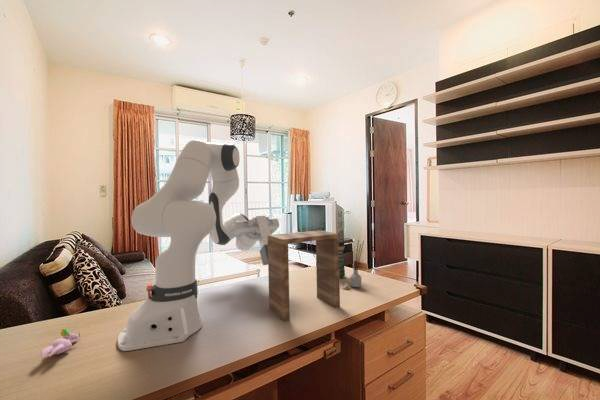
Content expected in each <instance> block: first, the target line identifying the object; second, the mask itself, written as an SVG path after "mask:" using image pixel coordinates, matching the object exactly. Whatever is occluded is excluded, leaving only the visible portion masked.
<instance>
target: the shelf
mask: <svg viewBox="0 0 600 400" xmlns="http://www.w3.org/2000/svg"><path fill="white" fill-rule="evenodd" d="M339 238H340V236H339V233H337V232H332V231H325V230H319V229H318V230H309V231H301V232H300V231H296V232H288V233H276V234H275V233H274V234H272V235H268V265H267V266H268V267H267V268H268V306H269V307H268V308H269V310H270V311H272V312H273V313H274V314H275V315H276V316H277V317H279V318H280V319H281V320H282V321H283V322H286V321H289V320H291V317H290V315H291V314H290V312H291V311H290V275H289V273H290V268H289V267H290V266H289V261H290V260H289V244H297V243H305V242H306V243H307V242H315V259H316V264H315V265H316V266H315V267H316V298H318V299H319V300H321V301H323V302H324V303H326V304H328V305H329V306H332V307H333V308H335V309H336V308H340V306H341V300H340V299H341V296H340V295H341V293H340V291H341V290H340V289H341V287H340V278H339Z"/></svg>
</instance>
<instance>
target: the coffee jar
mask: <svg viewBox="0 0 600 400" xmlns="http://www.w3.org/2000/svg"><path fill="white" fill-rule="evenodd" d="M344 240H345V239H342V238H340V237H339V279H342V278H344V277H345V276H346V270H345V261H344V251H345V247H346V246H345V241H344Z"/></svg>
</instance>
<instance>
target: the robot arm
mask: <svg viewBox="0 0 600 400" xmlns="http://www.w3.org/2000/svg"><path fill="white" fill-rule="evenodd" d="M239 163H240V151H239V149H238V147H237V146H236V145H235V144H234V143H229V142H225V143H223V142H222V143H220V142H209V141H208V142H206V141H204V140H202V139H192V140H189V141H188V142H187V143H186V144H185V146H184V147H183V148H182V150H181V151H180V154H179V155H178V157H177V159H176V161H175V164H174V167H173V168H172V170H171V173H170V175H169V176H168V179H167V180H166V182H165V183H164V184H163V185H162V187H161V188H160V189H159V190H158V191H156V193H155V194H153V195H152V197H150V198H149V199H147V200H146V201H144V202H142V203H139V204H138V205H137V206H136V207H135V208H134V209H133V211H132V214H131V217H130V218H131V226H132V228H133V230H134V231H135V232H136V233H138V234H140V235H144V236H148V237H151V238H152V237H154V238H170V243H169V247H168V248H166V249H165V250H164V251H162V252H161V253H159V254H158V256H157V257H156V258H155V261H154V265H155V284H154V285H153V283H150V284H147V286H146V287H145V289H146V292H147V297H148V299H146V301H144V302H143V303H142V304H141V305H139V307H137V308H136V309H135V310H133V311H132V312H131V314H130V316H129V318H128V321H127V323H126V327H125V328H124V329H123V330H122V331H121V332H120V333H119V335H118V337H117V347H118V349H119V350H121V351H123V352H128V351H134V350H140V349H141V350H142V349H147V348H153V347H154V348H155V347H159V346H165V345H170V344H177V343H181V342H185V341H186V340H187V339H188V338H189V337H190V336H191V335H193V334H195V333H196V332H199V330H200V329H201V328H202V326H203V321H202V318H201V315H200V311H199V307H198V300H197V299H198V296H199V295H198V293H199V291H198V290H199V289H198V281H197V278H196V257H197V253H198V249H199V247H200V245H201V244H202V241H203V240H204V239H205V238H206V237H208V235H210V239H211V240H212V242H214V244H215V245H216V244H217V245H220V246H226V245H228V243H230V242H231V241H232V240H233V239H235V246H236V248H237V250H240V251H242V252H243V251H244V252H247V251H249V250H251V249H252V248H253V247H254V246H255V245H256V243H257V242H259V240H258V236H257V232H256V228H255V224H254V223H256V222H257V218H256V216H254V217H252V218H251V219H249V218H248V217H247V215H245V214H243V213H240V212H235V213H234V214H232V215H230V216H228V217H227V218H226V219H224V217H223V209H224V207H225V205H226V204H227V202H228V201H229V200H230V199H231V198H232V197H233V196H234V195H235V194H236V193H237V191H238V190H239V188H240V177H239V174H238V170H237V169H238V166H239ZM209 175H211V180H212V187H211V192H210V194H209V195H208V203H207V202H204V201H198V200H195V199H197V198H199V197H200V196H202V194H203V193H204V189H205V188H206V185H207V182H208V178H209ZM266 220H267V223H268V227H269V230H270V234H271V235H273V234H275V232H276V231H277V230H278V229H279V227H280V221H279V219H278V218H270V216H266Z"/></svg>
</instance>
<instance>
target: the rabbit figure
mask: <svg viewBox="0 0 600 400" xmlns="http://www.w3.org/2000/svg"><path fill="white" fill-rule="evenodd" d="M60 335H61V336H62V338H57V339H55V340H53V341H52V342H51V343H50V344H49V346H47V347H45V348H43V349H42V350H41V351H40V357H41V358H42V359H43V358H44V357H46V356H47V355H48V354H49V356H48V357H51V356H52V357H53V355H61V354H63V353H62V352H64V353H65V352H67V351H68V350H71V348H72V347H73V344H75V343H76V341H77V342H78V341H80V340H81V337H82V336H81V333H80V332H77V333H76V334H75V333H70V332H69V331H68V330H67V327H63V329H62V330H61V332H60ZM74 342H75V343H74ZM60 353H61V354H60Z"/></svg>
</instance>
